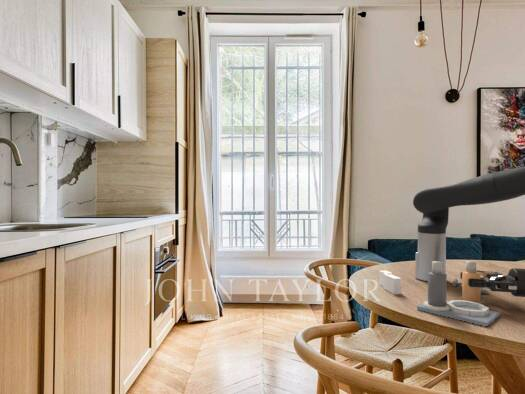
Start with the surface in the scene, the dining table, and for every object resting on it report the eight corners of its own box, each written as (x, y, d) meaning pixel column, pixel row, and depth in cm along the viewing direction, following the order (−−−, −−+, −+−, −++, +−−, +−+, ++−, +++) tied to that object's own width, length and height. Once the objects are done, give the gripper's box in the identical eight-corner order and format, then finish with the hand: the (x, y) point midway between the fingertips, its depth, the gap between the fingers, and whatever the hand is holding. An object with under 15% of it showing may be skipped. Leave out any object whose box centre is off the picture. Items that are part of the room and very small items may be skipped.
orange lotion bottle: (459, 303, 95) (459, 261, 95) (465, 300, 98) (465, 259, 98) (477, 307, 92) (477, 263, 92) (482, 304, 95) (482, 261, 95)
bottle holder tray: (416, 310, 90) (416, 261, 90) (433, 301, 97) (433, 256, 97) (486, 327, 78) (486, 271, 78) (499, 316, 85) (499, 264, 85)
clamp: (487, 291, 101) (449, 286, 107) (487, 298, 101) (449, 293, 107) (487, 281, 114) (453, 277, 119) (487, 287, 114) (453, 283, 119)
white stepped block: (406, 298, 101) (406, 279, 101) (367, 293, 107) (368, 275, 107) (411, 287, 114) (411, 270, 114) (377, 283, 120) (377, 267, 120)
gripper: (521, 264, 97) (458, 261, 102) (545, 275, 84) (471, 270, 89) (521, 290, 97) (458, 285, 102) (545, 305, 84) (471, 299, 89)
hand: (464, 278), depth 95 cm, fingers open, 8 cm apart
